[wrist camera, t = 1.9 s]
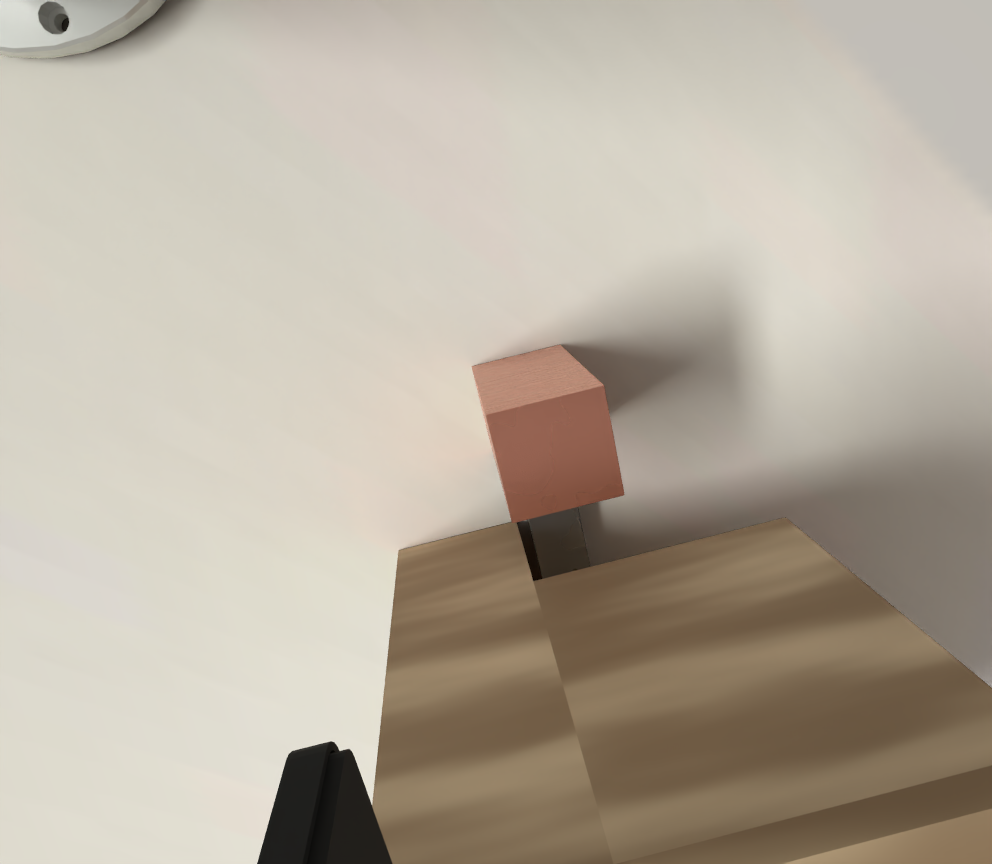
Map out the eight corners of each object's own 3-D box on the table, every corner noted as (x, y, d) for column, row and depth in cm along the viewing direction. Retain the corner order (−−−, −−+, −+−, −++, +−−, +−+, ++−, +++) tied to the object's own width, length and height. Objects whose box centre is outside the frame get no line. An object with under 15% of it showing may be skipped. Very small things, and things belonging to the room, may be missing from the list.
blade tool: (471, 366, 26) (485, 414, 19) (559, 344, 26) (603, 385, 19) (576, 790, 32) (614, 936, 26) (647, 771, 33) (702, 912, 26)
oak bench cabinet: (387, 548, 28) (328, 983, 12) (725, 463, 28) (1110, 777, 12) (480, 844, 33) (526, 1430, 17) (766, 769, 33) (1078, 1278, 17)
